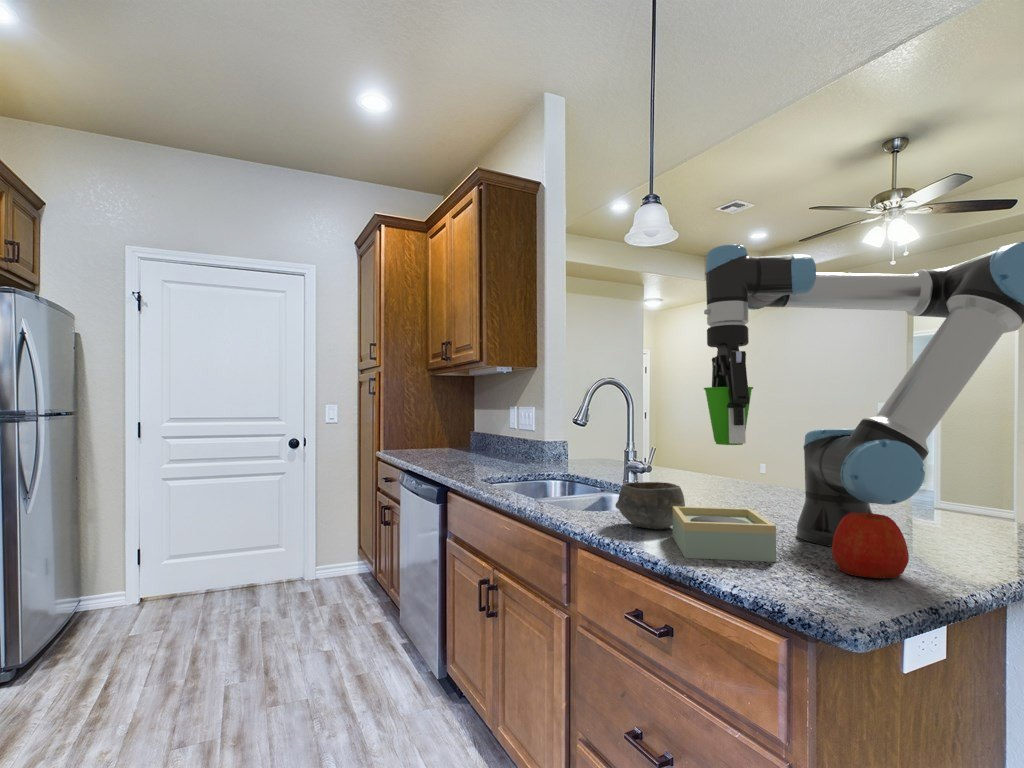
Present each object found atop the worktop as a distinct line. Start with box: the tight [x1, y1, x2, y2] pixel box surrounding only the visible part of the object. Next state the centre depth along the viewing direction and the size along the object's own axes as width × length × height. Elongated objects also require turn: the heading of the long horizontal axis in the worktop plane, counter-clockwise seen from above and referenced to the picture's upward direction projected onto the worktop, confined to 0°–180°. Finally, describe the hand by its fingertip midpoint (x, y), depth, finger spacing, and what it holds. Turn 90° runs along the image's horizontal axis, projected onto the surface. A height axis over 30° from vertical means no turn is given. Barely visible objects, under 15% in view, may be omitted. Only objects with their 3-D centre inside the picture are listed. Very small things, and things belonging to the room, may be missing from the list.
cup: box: [703, 386, 754, 446], centre depth 104 cm, size 9×9×11 cm
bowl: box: [614, 481, 686, 530], centre depth 124 cm, size 14×15×10 cm
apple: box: [831, 511, 910, 579], centre depth 90 cm, size 11×11×11 cm
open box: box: [672, 506, 777, 563], centre depth 106 cm, size 16×16×6 cm
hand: (729, 441), depth 104 cm, fingers closed on cup, 9 cm apart
